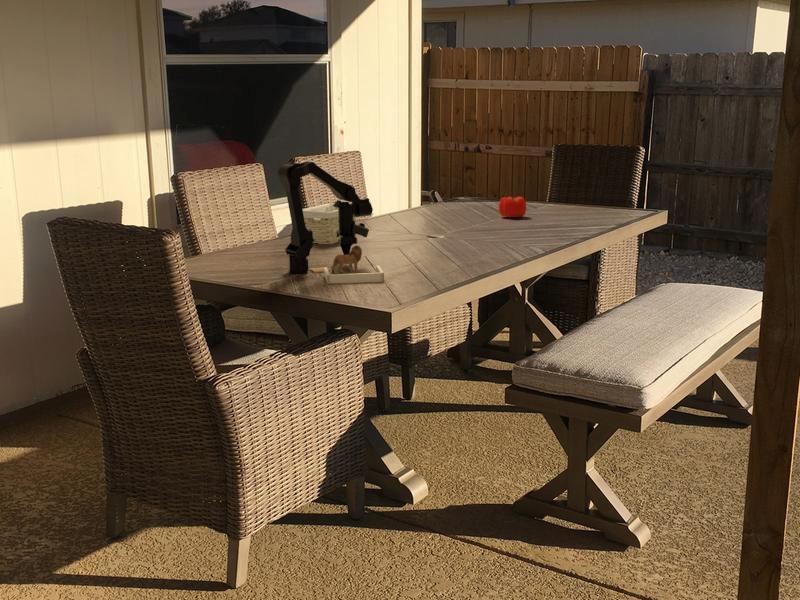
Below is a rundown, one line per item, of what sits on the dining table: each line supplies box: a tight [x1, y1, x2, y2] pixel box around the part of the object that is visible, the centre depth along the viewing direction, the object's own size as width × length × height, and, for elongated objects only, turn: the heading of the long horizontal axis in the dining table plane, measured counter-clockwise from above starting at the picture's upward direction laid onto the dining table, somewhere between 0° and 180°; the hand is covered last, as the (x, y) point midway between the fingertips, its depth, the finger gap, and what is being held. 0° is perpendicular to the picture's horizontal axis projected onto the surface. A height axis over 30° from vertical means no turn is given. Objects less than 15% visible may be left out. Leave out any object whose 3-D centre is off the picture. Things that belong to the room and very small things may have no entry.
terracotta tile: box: [308, 266, 331, 274], centre depth 358 cm, size 6×6×1 cm
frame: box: [323, 265, 385, 284], centre depth 344 cm, size 20×14×3 cm
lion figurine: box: [331, 245, 363, 274], centre depth 356 cm, size 15×5×9 cm, turn 137°
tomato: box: [498, 196, 527, 218], centre depth 485 cm, size 14×13×10 cm
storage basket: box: [302, 202, 358, 245], centre depth 423 cm, size 24×16×15 cm
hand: (346, 258), depth 367 cm, fingers closed
